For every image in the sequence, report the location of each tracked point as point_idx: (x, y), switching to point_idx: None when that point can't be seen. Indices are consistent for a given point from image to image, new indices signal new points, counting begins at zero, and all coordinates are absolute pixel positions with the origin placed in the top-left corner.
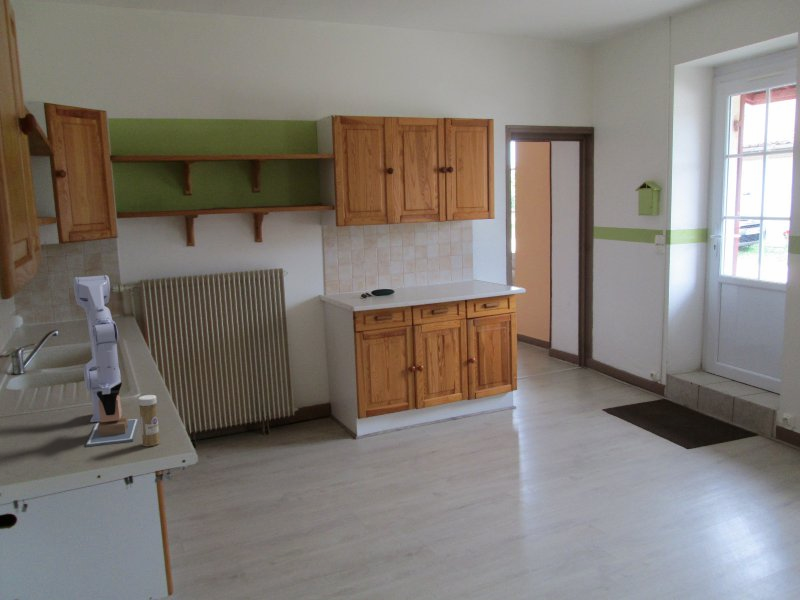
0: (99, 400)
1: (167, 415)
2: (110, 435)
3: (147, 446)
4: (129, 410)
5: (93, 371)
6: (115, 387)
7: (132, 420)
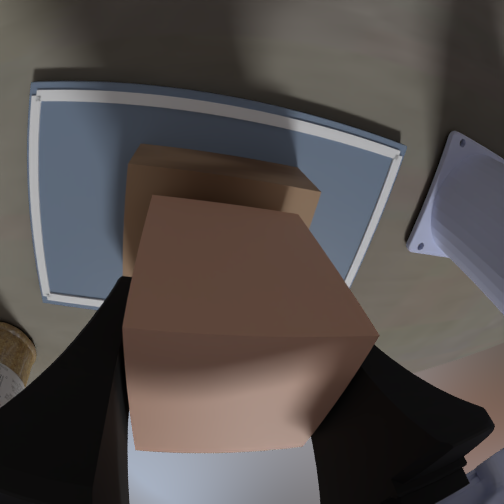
0: (210, 338)
1: None
2: None
3: None
4: (464, 281)
5: None
6: (339, 498)
7: None
